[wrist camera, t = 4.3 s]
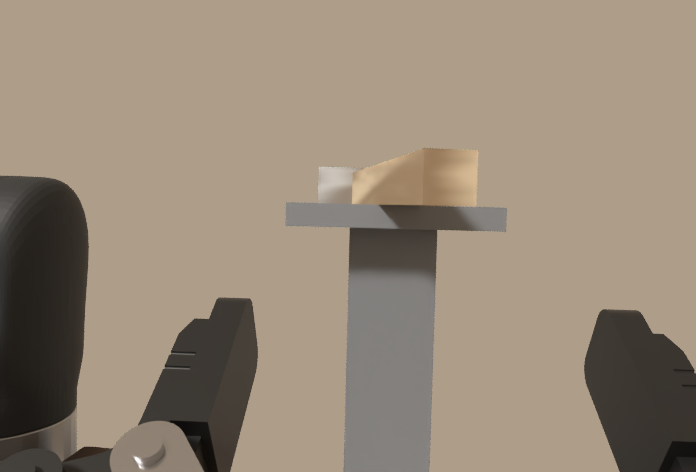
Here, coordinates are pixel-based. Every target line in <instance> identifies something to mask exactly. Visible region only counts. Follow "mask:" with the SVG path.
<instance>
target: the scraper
mask: <svg viewBox="0 0 696 472" xmlns="http://www.w3.org/2000/svg"><path fill="white" fill-rule="evenodd" d="M477 173H478V150H457V149H433V148H432V149H431V148H423V149H420V150H418V151H415V152H412V153H409V154H406V155H403V156H400V157H397V158H394V159H391V160H388V161H386V162H383V163H380V164H377V165H374V166H371V167H368V168H343V167H319V182H318V203H332V204H373V205H413V206H476V201H477Z"/></svg>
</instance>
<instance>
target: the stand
mask: <svg viewBox="0 0 696 472" xmlns="http://www.w3.org/2000/svg"><path fill="white" fill-rule="evenodd" d="M506 216H507V208H494V207H454V206H413V205H373V204H332V203H292V202H291V203H289V202H288V203H287V202H286V226H315V227H316V226H317V227H350V244H349V283H348V285H349V286H348V323H347V364H346V405H345V443H344V472H429V463H430V433H431V431H430V430H431V402H432V401H431V400H432V372H433V371H432V370H433V341H434V311H435V310H434V309H435V279H436V250H437V230H466V231H502V232H506Z"/></svg>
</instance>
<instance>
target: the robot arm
mask: <svg viewBox="0 0 696 472" xmlns="http://www.w3.org/2000/svg"><path fill="white" fill-rule="evenodd" d="M88 248H89V246H88V229H87V223H86V218H85V214H84V210H83V208H82V205H81V202H80V200H79V198H78V197H77V195H76V194H75V192H74V191H73V190H72V189H71V188H70V187H69V186H68V185H67V184H65V183H63V182H61V181H59V180H56V179H50V178H44V177H23V176H0V472H230V470H231V466H232V462H233V458H234V454H235V451H236V447H237V443H238V439H239V435H240V431H241V427H242V423H243V420H244V416H245V412H246V408H247V404H248V400H249V396H250V392H251V389H252V385H253V381H254V377H255V373H256V368H257V358H258V349H257V348H258V347H257V339H256V330H255V322H254V314H253V306H252V301H251V300H250V299H246V298H218V299H217V300H216V303H215V305H214V308H213V310H212V313H211V316H210V318H209V319H194V320H193V321H192V322H191V323H190V324H188V325H187V326H186V327H185V328H184V329H183V330H182V331H181V332H180V333H179V335H178V337H177V339H176V342H175V344H174V346H173V348H172V350H171V355H169V357H168V360H167V362H166V364H165V369H163V371H162V373H161V375H160V377H159V380H158V382H157V384H156V387H155V389H154V391H153V394H152V395H151V398H150V400H149V402H148V404H147V407H146V409H145V411H144V413H143V416H142V418H141V420H140V422H139V424H138V426H136V427H134V428H132V429H131V430H129V431H128V432H126V433H125V434H124V435H123V436H122V437H121V438H120V439H119V440H118V441H117V442H116V444H115V446H114V447H113V448H112V449H110V450H107V451H105V452H102V453H99V454H96V455H92V456H88V457H83V458H79V459H75V460H71V461H66V462H62V461H64V460H65V459H67V458H68V457H70V456H71V455H73V454H74V453H75V452H77V447H76V446H77V406H76V405H77V402H76V401H77V384H78V378H79V373H80V368H81V363H82V357H83V346H84V320H85V301H86V287H87V271H88ZM584 371H585V380H586V384H587V387H588V389H589V392H590V395H591V397H592V400H593V403H594V405H595V408H596V411H597V413H598V416H599V419H600V421H601V424H602V426H603V429H604V432H605V434H606V437H607V439H608V442H609V445H610V447H611V450H612V452H613V455H614V458H615V460H616V463H617V466H618V468H619V471H620V472H696V374H695V373H694V368H693V367H692V365H691V364H690V362H689V360H688V359H687V357H686V355H685V354H684V352H683V351H682V350H681V349H680V348H679V347H678V346H676V345H675V344H674V343H673V342H672V341H671V340H670V339H668V338H667V337H666V336H665V335H664V334H653V333H652V331H651V330H650V328H649V326H648V324H647V322H646V321H645V319H644V317H643V315H642V314H641V313H640V312H639V311H636V310H606V309H605V310H602V311H601V312H600V313H599V315H598V318H597V321H596V325H595V328H594V331H593V335H592V338H591V341H590V344H589V348H588V351H587V355H586V358H585V365H584Z"/></svg>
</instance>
